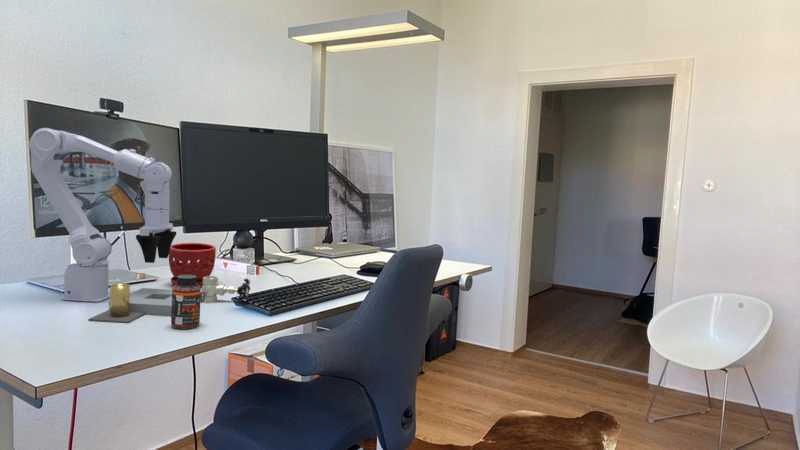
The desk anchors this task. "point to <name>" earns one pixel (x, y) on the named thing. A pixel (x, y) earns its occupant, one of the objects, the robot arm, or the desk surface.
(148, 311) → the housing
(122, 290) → the brass cover
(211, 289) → the valve
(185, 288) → the supplement bottle
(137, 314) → the rubber mat
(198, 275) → the plant pot
